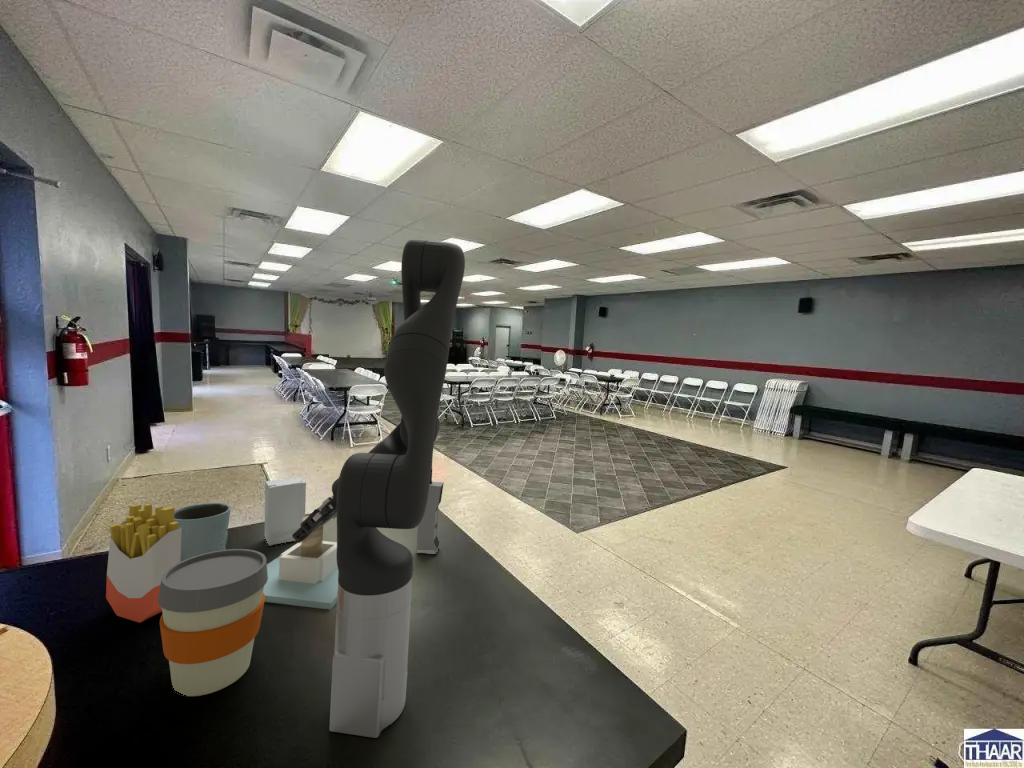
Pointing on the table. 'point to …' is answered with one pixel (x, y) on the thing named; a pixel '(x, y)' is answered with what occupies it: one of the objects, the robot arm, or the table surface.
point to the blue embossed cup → (202, 528)
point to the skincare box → (284, 508)
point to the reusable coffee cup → (211, 617)
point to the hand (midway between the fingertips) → (303, 534)
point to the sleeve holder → (304, 578)
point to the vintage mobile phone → (430, 518)
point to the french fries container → (141, 560)
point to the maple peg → (312, 543)
